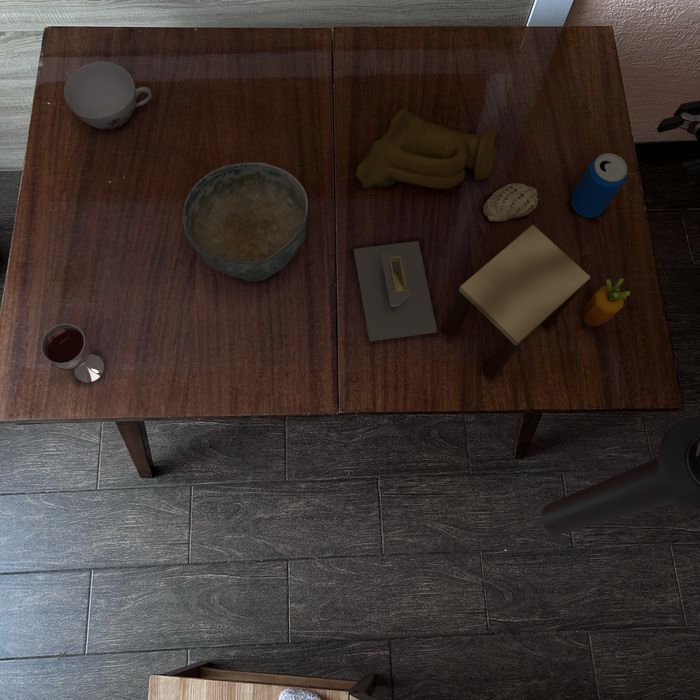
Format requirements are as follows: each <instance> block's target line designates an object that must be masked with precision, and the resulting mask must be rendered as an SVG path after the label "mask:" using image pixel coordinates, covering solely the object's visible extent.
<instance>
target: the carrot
mask: <svg viewBox="0 0 700 700" xmlns="http://www.w3.org/2000/svg"><path fill="white" fill-rule="evenodd" d="M624 281H625V278H623V277H622V278H619V279H618V281H617V282H616V284H615V285H614V286H612V281H611V279H610V278H607V279H606V282H605V283H606V286H601V287H599V289H598V290H596V291H595V293H594V294H593V295H592V296H591V297H590V299H589V300H588V301H587V303H586V304H585V307H584V308H583V309H584V310H583V323H584V325H586V327H587V326H588V327H590V326H591V327H598V326H601V325H603V324H605V323H607V322H608V321H609V320H610V319H612V318H613V317H614V316H615V315H616V314H617V313H618V312H619V311H620V310H622V308H623V307H624V305H625V302H624V300H626V299H627V297H628V296H630V295H631V291H630V290H626V291H622V292H621V291H620V288H619V287H620V286H621V285H622V284H623V282H624Z"/></svg>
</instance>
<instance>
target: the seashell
mask: <svg viewBox="0 0 700 700" xmlns="http://www.w3.org/2000/svg"><path fill="white" fill-rule="evenodd" d="M538 195H539V194H538V189H537V188H535V187H532V186H529V185H525V183H519V182H518V183H517V182H514V183H513V182H512V183H508V184H506V185H503V186H501V187H500V188H498V189H497V190H496V191H495V192H493V193H492V194H491V195H490V196H489V197H488V198H487V199H486V201H485V203H484V204H483V206H482V210H483V211H482V212H483V215H484V216H486V217H487V220H488V222H493V223H495V222H503V223H504V222H506V221H509V220H510V219H519V218H522V217H525V216H528V215H529V214H531V213H532V212H533V211H534V210H535V209H536V208H537V206H538V204H539V198H538Z"/></svg>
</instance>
